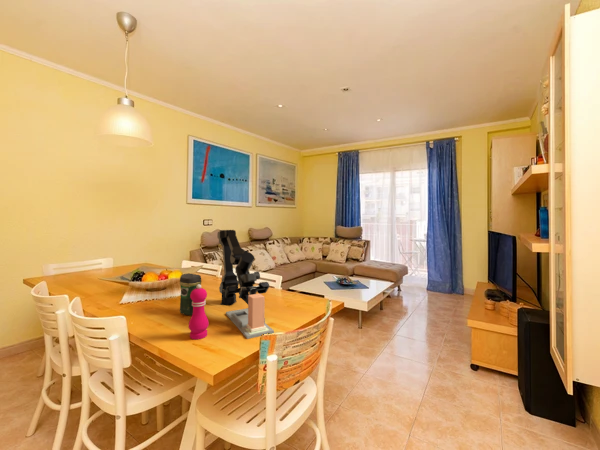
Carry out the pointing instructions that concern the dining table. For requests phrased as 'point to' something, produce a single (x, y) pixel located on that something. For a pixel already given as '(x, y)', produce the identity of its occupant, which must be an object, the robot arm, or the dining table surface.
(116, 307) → the dining table surface
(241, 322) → the track
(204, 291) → the pepper mill
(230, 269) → the robot arm
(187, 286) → the coffee jar
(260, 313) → the salmon pink tall box
